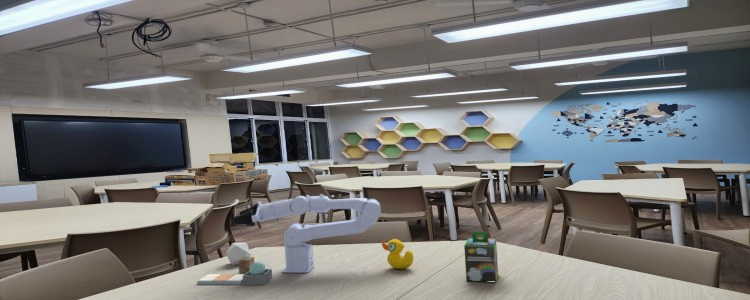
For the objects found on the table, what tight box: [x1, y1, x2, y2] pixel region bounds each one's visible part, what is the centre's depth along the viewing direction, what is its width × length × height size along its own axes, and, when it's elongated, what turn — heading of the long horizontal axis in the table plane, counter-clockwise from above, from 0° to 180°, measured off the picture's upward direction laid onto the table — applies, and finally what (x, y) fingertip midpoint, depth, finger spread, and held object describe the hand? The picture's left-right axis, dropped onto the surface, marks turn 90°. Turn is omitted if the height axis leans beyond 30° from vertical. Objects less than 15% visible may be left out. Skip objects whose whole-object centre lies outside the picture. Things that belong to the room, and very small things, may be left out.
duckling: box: [381, 238, 414, 270], centre depth 150 cm, size 11×5×10 cm, turn 63°
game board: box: [196, 273, 244, 285], centre depth 145 cm, size 15×7×1 cm, turn 82°
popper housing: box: [242, 268, 273, 286], centre depth 143 cm, size 7×7×3 cm
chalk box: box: [463, 230, 499, 282], centre depth 136 cm, size 9×9×15 cm
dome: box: [250, 261, 266, 275], centre depth 142 cm, size 5×5×4 cm
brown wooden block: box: [238, 256, 255, 274], centre depth 153 cm, size 4×4×5 cm
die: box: [225, 241, 252, 266], centre depth 165 cm, size 8×9×10 cm
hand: (237, 217), depth 153 cm, fingers open, 7 cm apart
